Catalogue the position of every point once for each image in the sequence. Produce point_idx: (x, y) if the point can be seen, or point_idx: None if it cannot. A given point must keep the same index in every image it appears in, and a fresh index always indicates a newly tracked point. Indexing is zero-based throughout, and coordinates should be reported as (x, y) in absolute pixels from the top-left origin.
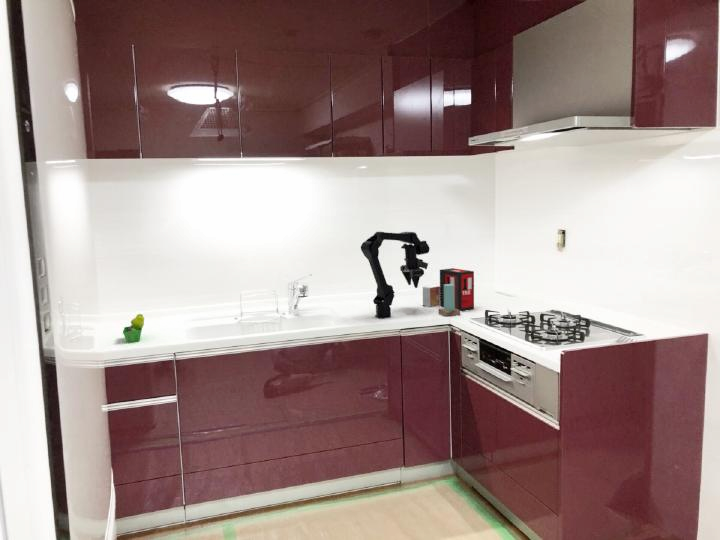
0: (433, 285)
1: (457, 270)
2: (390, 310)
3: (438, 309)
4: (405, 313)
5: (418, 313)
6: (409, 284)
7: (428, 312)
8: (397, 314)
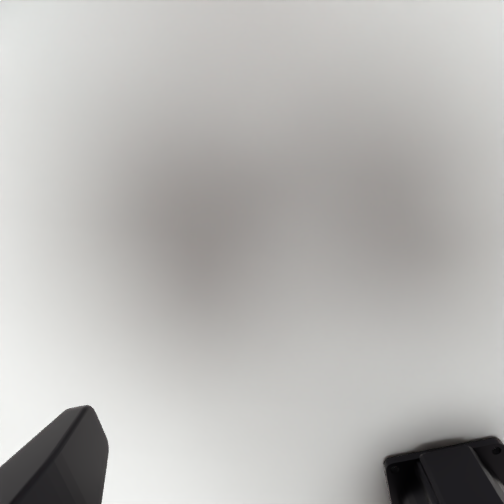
0: None
1: None
2: (495, 484)
3: None
4: (355, 294)
5: (398, 160)
6: (101, 442)
7: (377, 22)
8: (380, 371)
